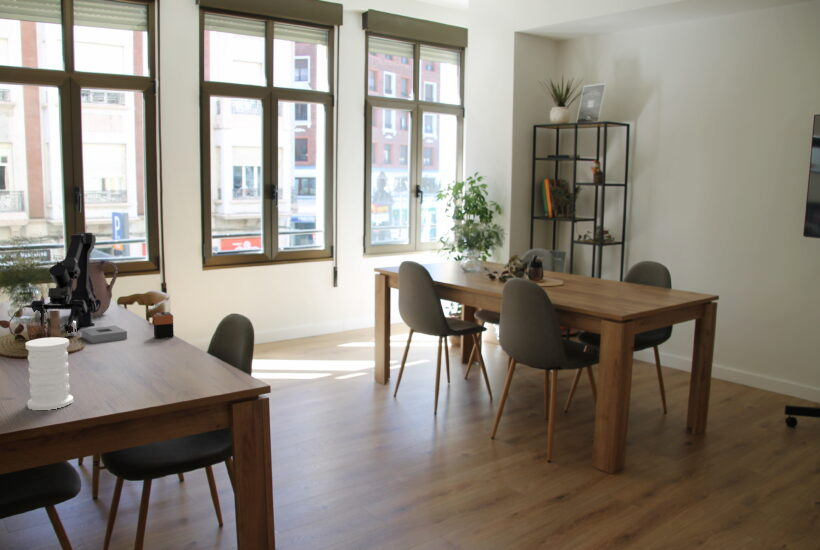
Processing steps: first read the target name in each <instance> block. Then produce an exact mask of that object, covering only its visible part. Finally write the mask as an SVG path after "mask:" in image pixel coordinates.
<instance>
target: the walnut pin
mask: <svg viewBox="0 0 820 550" xmlns="http://www.w3.org/2000/svg"><path fill="white" fill-rule="evenodd" d="M60 314H61V313H60V310H50V311H49V321H50V338H51V337H60V338H62V336H61V335H62V334H61V317H60Z"/></svg>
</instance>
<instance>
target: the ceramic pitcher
mask: <svg viewBox="0 0 820 550" xmlns="http://www.w3.org/2000/svg"><path fill="white" fill-rule="evenodd" d="M106 265H110V266H111V267H112V268H113V275H112V278H111V281H110V283H108V281H107V279H106V276H105V273H104V271H103V270H104V267H105V266H106ZM118 271H119V270H118V266H117V264H116V263H115V262H113V261H111V260H110V261H109V260H104V259H94V258H91V259H90V260H89V289H90V291H91V293H92V297H93V299H94V301H95V304H96V311H93V312H91V315H92V317H99V316H102V315H103V314H104V313H106V312H107V311H108V309H109V307H110V305H111V301H112V298H113V287H114V285H115V283H116V280H117V277H118ZM71 280H72V281H73V289H72V291H73V290H75V288H76V286H77V279H71ZM70 297H72V292H71V296H70ZM69 304H70V301H69ZM90 308H91V307H90Z"/></svg>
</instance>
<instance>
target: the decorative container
mask: <svg viewBox="0 0 820 550" xmlns="http://www.w3.org/2000/svg"><path fill="white" fill-rule="evenodd" d="M69 346H70V340H69V339H68V337H67V338H65V337H61V338H60V337H51V336H50V337H41V338H40V337H39V338H35V339H31V340H28V341H26V342H25V349H26V350H27V351H28V354H27V361H28V362H29V364H28V368H27V369H28V372H29V378H28V381H29V382H28V383H29V384H30V387H29V394H30V397H31V398H30V399H29V400H28V401H27V404H26V405H27V409H29V410H31V409H32V411H36V410H48V411H52V410H51V409H56V410H58V409H57V408H61V407H64V406H66V405H69V404H70V403H72V402H73V403H74V396H73V395H72V394H70V389H71V386H70V383H69V380H70V374H69V370H68V369H69V366H70V364H69V362H68V358H69V352H68V348H67V347H69ZM73 403H72V404H73ZM69 406H70V405H69ZM64 408H65V407H64ZM61 409H62V408H61Z"/></svg>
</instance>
